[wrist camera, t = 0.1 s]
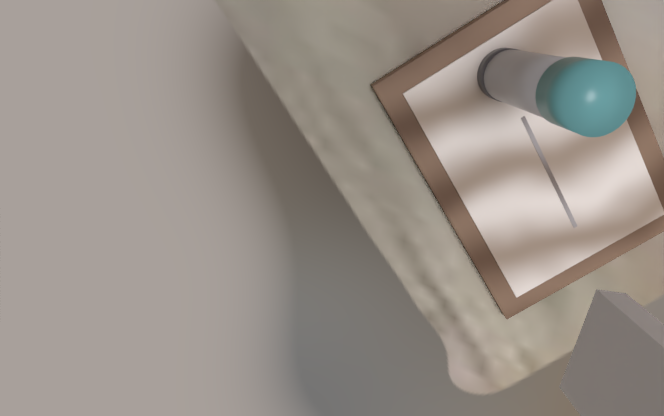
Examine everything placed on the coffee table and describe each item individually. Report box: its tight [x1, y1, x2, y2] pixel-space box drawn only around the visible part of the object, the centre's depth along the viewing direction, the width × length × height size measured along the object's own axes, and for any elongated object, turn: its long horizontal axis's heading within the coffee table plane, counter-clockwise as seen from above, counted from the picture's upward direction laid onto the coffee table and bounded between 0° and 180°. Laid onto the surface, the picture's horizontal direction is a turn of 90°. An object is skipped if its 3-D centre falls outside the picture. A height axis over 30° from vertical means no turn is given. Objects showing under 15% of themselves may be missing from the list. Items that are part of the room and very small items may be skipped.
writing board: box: [371, 0, 664, 319], centre depth 40 cm, size 22×16×1 cm
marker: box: [477, 48, 636, 137], centre depth 32 cm, size 4×4×12 cm
